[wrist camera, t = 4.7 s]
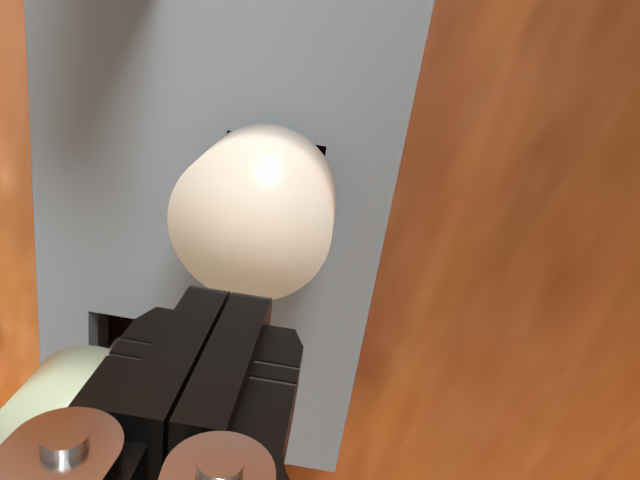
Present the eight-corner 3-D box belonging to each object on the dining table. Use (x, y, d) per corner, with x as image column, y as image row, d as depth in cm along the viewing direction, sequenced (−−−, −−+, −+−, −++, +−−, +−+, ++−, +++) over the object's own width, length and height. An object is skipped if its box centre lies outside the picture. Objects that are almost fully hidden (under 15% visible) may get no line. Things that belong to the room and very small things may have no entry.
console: (464, -214, 17) (493, -276, 14) (338, 408, 27) (334, 474, 23) (82, -276, 18) (5, -355, 14) (87, 365, 27) (41, 424, 23)
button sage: (192, 312, 21) (131, 420, 15) (184, 409, 22) (127, 537, 17) (73, 293, 21) (-30, 393, 15) (75, 390, 22) (-18, 513, 17)
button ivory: (349, 119, 20) (345, 161, 14) (329, 236, 21) (318, 313, 16) (224, 98, 20) (171, 132, 14) (214, 216, 21) (163, 287, 16)
